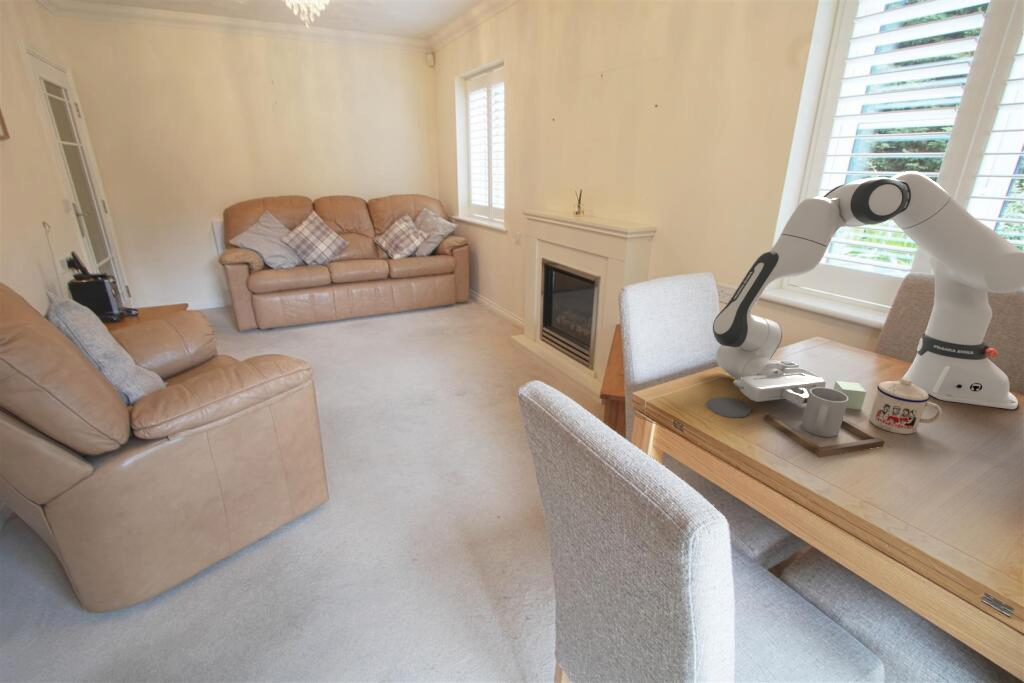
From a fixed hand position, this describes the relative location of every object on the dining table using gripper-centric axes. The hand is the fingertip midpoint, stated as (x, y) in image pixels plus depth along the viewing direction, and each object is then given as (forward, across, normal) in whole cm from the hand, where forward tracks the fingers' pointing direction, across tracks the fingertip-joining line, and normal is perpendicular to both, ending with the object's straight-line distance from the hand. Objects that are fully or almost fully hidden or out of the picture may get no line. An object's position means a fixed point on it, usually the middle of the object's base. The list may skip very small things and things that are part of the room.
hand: (807, 400), depth 106 cm
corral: (+4, 0, +6) cm, 7 cm away
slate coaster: (-10, -13, +6) cm, 17 cm away
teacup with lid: (+7, +20, +6) cm, 22 cm away
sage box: (-5, +18, +6) cm, 19 cm away
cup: (+4, 0, +6) cm, 7 cm away
